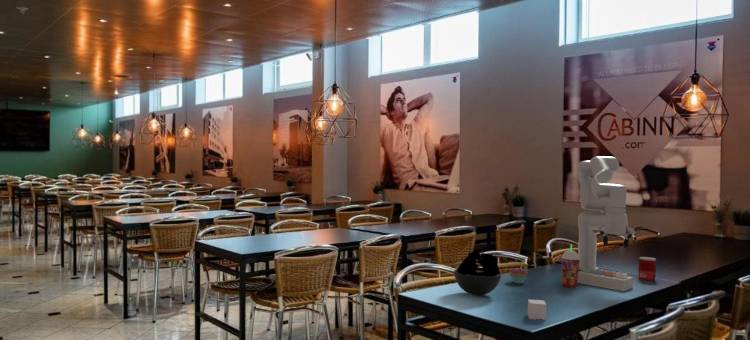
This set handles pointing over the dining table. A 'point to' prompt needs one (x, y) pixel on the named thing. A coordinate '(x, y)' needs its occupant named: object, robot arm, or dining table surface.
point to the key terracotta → (609, 273)
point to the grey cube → (536, 309)
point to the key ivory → (621, 275)
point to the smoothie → (570, 268)
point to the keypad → (605, 281)
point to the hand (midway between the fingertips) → (615, 246)
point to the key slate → (598, 271)
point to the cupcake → (518, 274)
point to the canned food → (647, 268)
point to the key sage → (588, 270)
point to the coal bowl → (478, 273)
